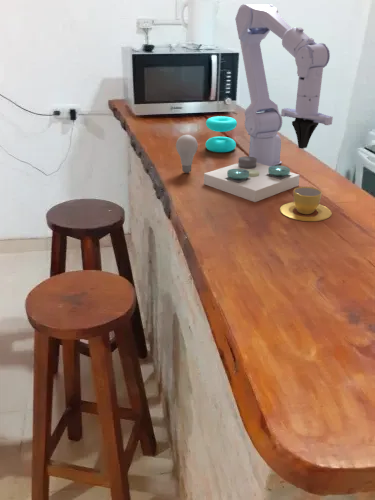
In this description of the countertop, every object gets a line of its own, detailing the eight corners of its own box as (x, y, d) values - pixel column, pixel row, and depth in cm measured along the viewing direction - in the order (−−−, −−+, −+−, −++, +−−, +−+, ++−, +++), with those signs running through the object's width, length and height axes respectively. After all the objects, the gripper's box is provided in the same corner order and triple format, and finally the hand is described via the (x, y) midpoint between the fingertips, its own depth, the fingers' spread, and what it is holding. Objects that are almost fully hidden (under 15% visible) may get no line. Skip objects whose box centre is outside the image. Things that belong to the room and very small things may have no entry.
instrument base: (247, 170, 149) (248, 153, 146) (298, 185, 137) (300, 167, 135) (203, 184, 138) (204, 166, 135) (254, 202, 126) (256, 182, 124)
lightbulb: (195, 177, 143) (195, 138, 138) (173, 175, 144) (173, 137, 139) (199, 170, 148) (199, 132, 143) (178, 169, 149) (178, 131, 144)
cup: (327, 226, 114) (330, 203, 111) (274, 218, 118) (276, 196, 115) (334, 207, 124) (337, 186, 121) (285, 200, 128) (287, 180, 125)
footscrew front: (236, 184, 137) (237, 167, 135) (252, 189, 134) (253, 172, 132) (222, 189, 134) (222, 171, 132) (238, 194, 130) (239, 176, 128)
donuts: (202, 116, 167) (231, 114, 169) (201, 146, 172) (230, 144, 174) (211, 123, 158) (241, 121, 161) (210, 154, 163) (239, 152, 165)
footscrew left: (275, 181, 140) (277, 164, 138) (292, 186, 136) (294, 169, 134) (262, 185, 136) (264, 168, 134) (279, 191, 133) (281, 173, 131)
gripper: (275, 93, 132) (271, 144, 138) (323, 101, 122) (317, 156, 129) (292, 90, 136) (287, 140, 142) (339, 97, 127) (332, 151, 133)
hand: (302, 147), depth 136 cm, fingers closed
